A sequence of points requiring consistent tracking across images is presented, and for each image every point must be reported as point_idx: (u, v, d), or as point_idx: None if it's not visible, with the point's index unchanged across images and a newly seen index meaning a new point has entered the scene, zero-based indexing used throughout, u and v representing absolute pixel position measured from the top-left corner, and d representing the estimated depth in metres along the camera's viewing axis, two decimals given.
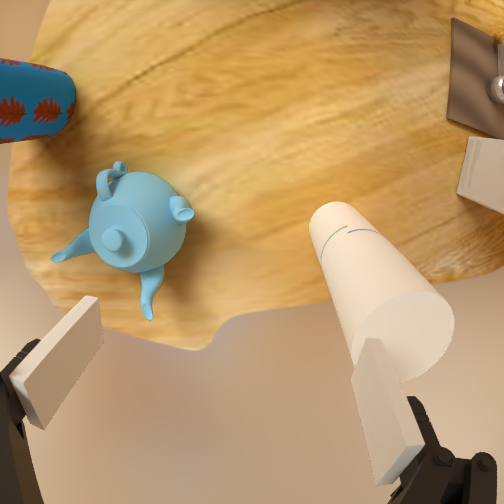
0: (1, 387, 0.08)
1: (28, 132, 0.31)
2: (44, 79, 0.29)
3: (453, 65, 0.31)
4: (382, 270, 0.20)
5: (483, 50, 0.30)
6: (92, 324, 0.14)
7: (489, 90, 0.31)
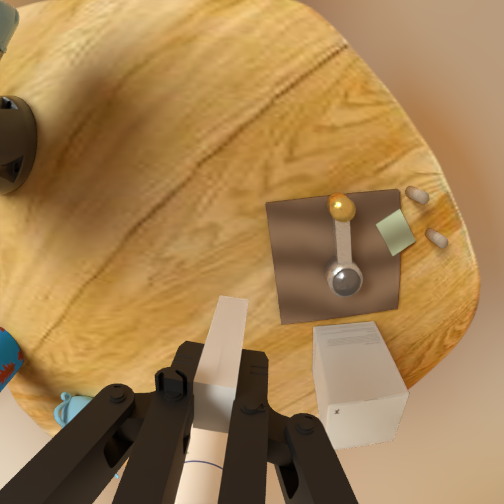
0: (185, 401, 0.10)
1: (3, 387, 0.43)
2: None
3: (275, 269, 0.39)
4: None
5: (316, 226, 0.37)
6: None
7: None
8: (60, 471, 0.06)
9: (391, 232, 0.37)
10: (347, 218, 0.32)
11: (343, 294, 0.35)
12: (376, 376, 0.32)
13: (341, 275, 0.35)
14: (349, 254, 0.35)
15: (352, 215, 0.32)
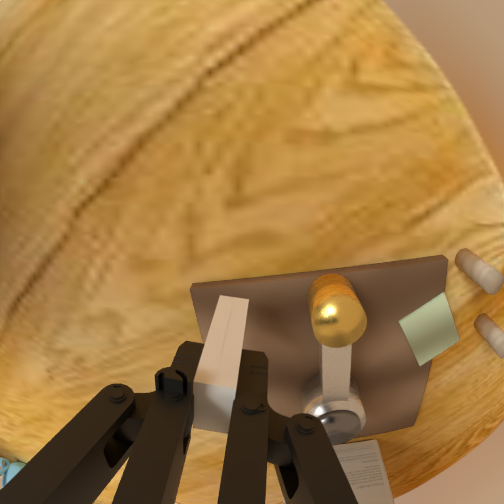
0: (185, 401, 0.10)
1: None
2: None
3: None
4: None
5: (287, 328, 0.20)
6: None
7: None
8: (60, 471, 0.06)
9: (424, 332, 0.19)
10: (347, 340, 0.15)
11: None
12: None
13: (327, 422, 0.17)
14: (345, 388, 0.17)
15: (358, 334, 0.15)
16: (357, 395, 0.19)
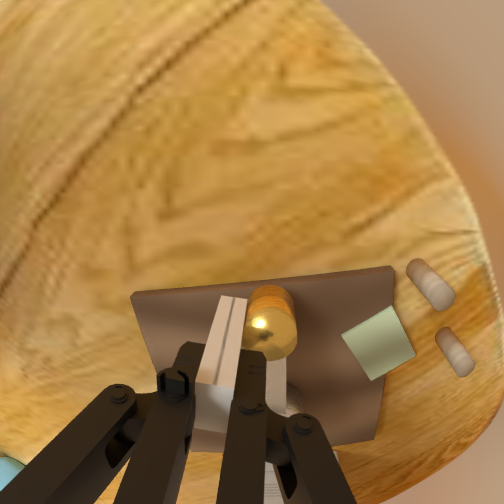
0: (187, 402, 0.10)
1: None
2: None
3: None
4: None
5: None
6: None
7: None
8: (61, 471, 0.06)
9: (371, 346, 0.19)
10: (277, 354, 0.15)
11: None
12: None
13: None
14: (282, 401, 0.17)
15: (289, 350, 0.15)
16: (298, 409, 0.19)
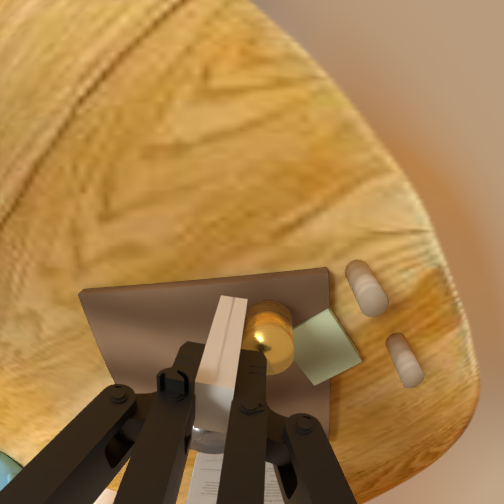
0: (186, 402, 0.10)
1: None
2: None
3: None
4: None
5: (161, 335, 0.20)
6: None
7: None
8: (61, 471, 0.06)
9: (310, 350, 0.19)
10: None
11: (194, 448, 0.18)
12: None
13: None
14: None
15: (277, 370, 0.15)
16: None
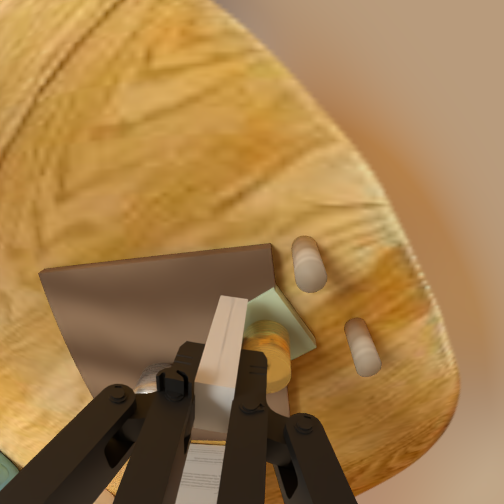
0: (186, 401, 0.10)
1: None
2: None
3: (77, 366, 0.22)
4: None
5: (112, 313, 0.19)
6: None
7: None
8: (61, 471, 0.06)
9: None
10: None
11: None
12: None
13: None
14: None
15: None
16: None
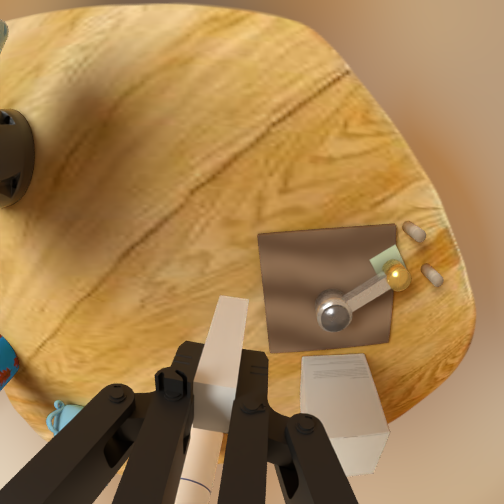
0: (185, 401, 0.10)
1: None
2: None
3: (265, 300, 0.39)
4: None
5: (308, 259, 0.37)
6: None
7: (318, 297, 0.37)
8: (60, 471, 0.06)
9: None
10: (394, 287, 0.32)
11: (323, 322, 0.35)
12: (359, 412, 0.31)
13: (341, 310, 0.34)
14: (359, 305, 0.34)
15: (398, 290, 0.32)
16: None
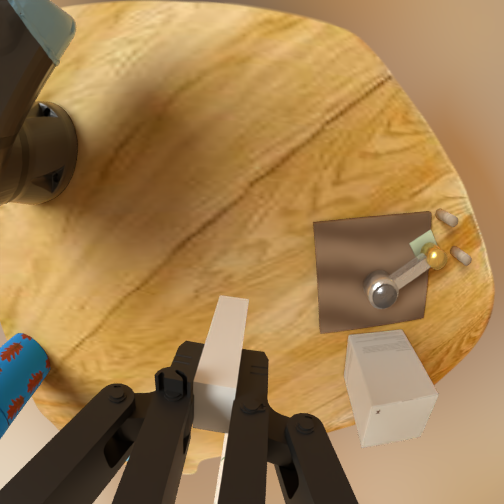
0: (185, 401, 0.10)
1: None
2: (21, 367, 0.44)
3: (318, 283, 0.42)
4: None
5: (358, 244, 0.40)
6: None
7: (367, 278, 0.40)
8: (60, 471, 0.06)
9: None
10: (434, 266, 0.35)
11: (374, 300, 0.38)
12: (409, 379, 0.34)
13: (390, 289, 0.37)
14: (404, 283, 0.38)
15: (437, 268, 0.36)
16: None
